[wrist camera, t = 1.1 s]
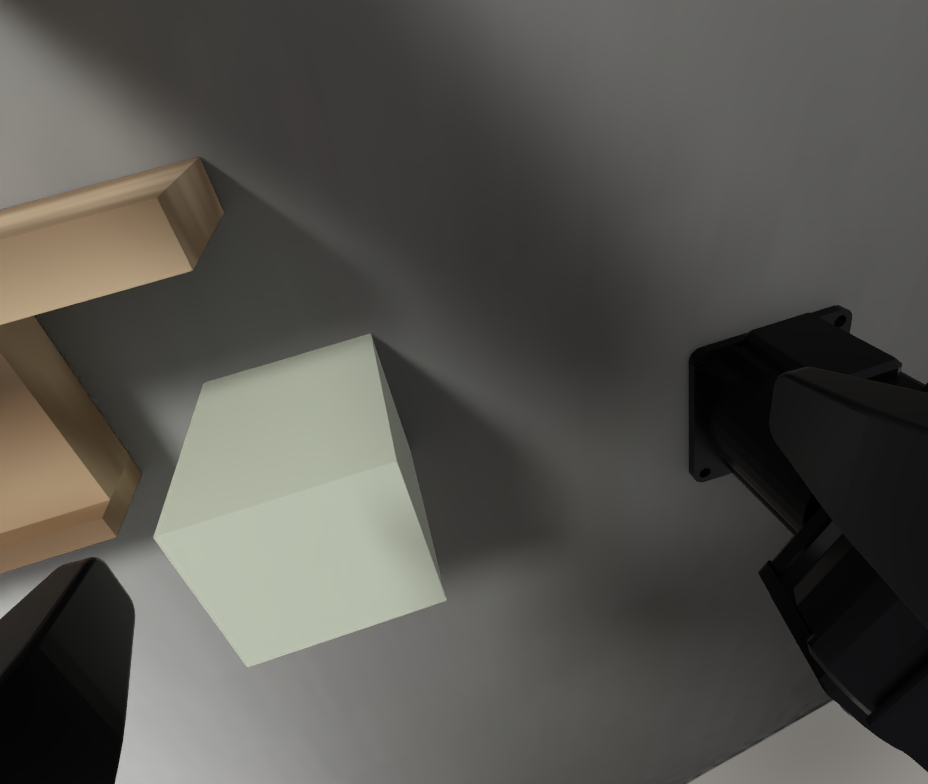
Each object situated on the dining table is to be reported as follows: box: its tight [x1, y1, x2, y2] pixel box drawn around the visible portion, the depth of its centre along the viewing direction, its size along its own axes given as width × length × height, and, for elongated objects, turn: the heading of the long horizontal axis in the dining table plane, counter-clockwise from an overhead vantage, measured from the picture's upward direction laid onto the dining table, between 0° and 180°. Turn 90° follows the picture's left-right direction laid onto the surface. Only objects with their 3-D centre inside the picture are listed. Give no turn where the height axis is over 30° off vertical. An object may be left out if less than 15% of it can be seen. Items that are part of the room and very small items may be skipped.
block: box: [153, 333, 447, 667], centre depth 17 cm, size 6×6×7 cm
